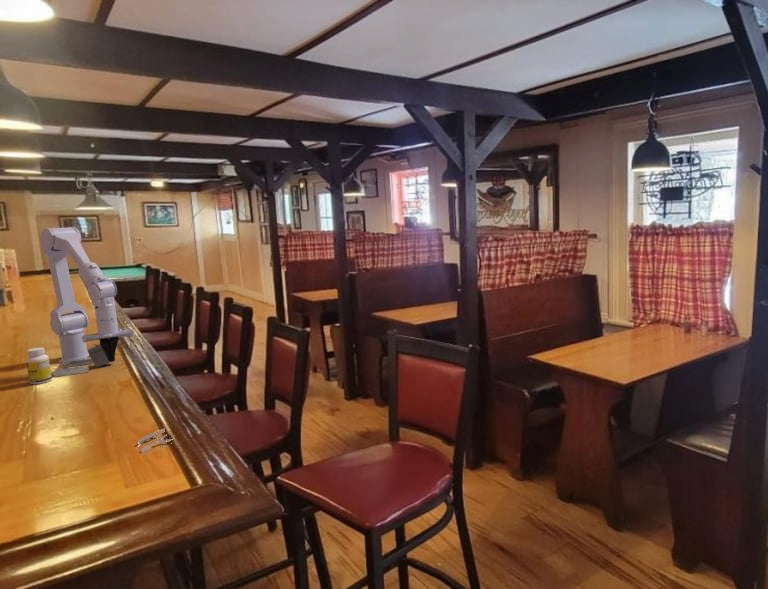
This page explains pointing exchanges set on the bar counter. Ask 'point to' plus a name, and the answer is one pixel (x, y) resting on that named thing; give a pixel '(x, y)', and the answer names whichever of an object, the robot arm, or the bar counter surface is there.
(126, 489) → the bar counter surface
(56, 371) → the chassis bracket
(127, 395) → the bar counter surface
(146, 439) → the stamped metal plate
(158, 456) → the bar counter surface
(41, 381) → the supplement bottle
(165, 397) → the bar counter surface
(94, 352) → the servo block
